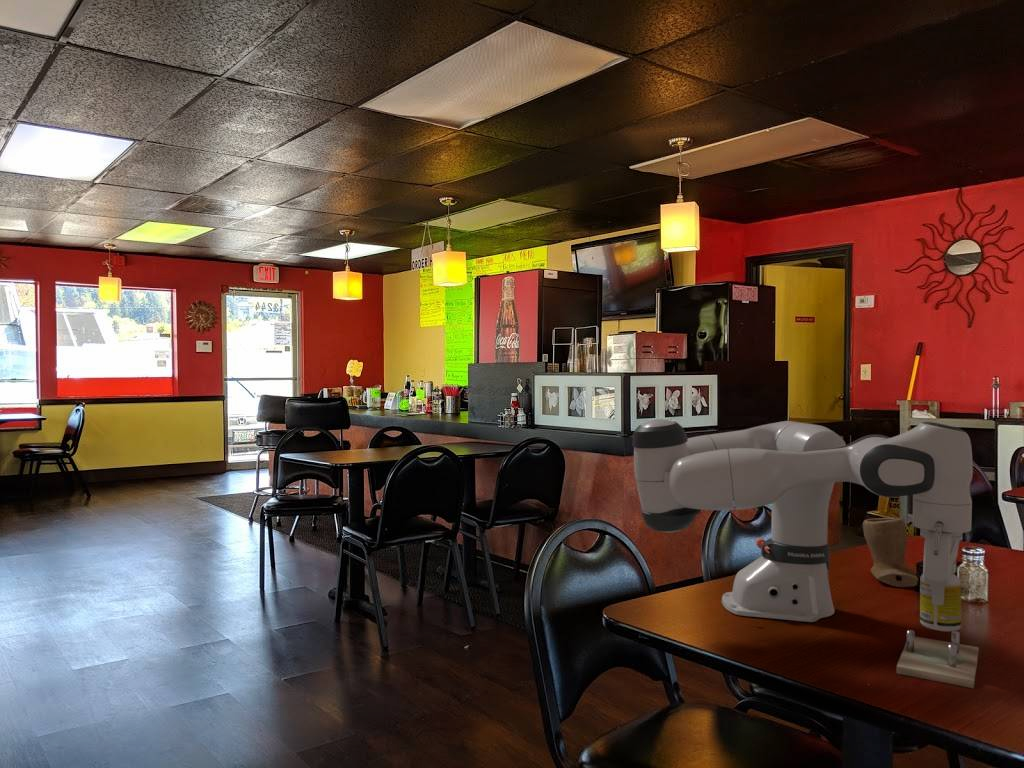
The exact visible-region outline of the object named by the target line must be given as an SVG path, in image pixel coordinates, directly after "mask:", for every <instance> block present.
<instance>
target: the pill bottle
mask: <svg viewBox="0 0 1024 768" xmlns="http://www.w3.org/2000/svg"><path fill="white" fill-rule="evenodd" d="M956 572H957V563H956V561H955V562H953V564H952V573H951V576H950V579H949V582H948V584H947V585H945V592H944V593H945V594H944V604H943V605H941V606H940V605H934V604H933V603H932V593H931V586H930V583H928V582H925V581H924V578H923V573H922V574H921V575H920V576H919V577H920V585H919V622H920V624H921V625H922V626H923V627H925V628H927V629H931V630H935V631H939V632H952V631H958V630H960V629H961V627H962V582H961V579H960V578H959V577H958V576H957V575H955V573H956Z"/></svg>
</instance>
